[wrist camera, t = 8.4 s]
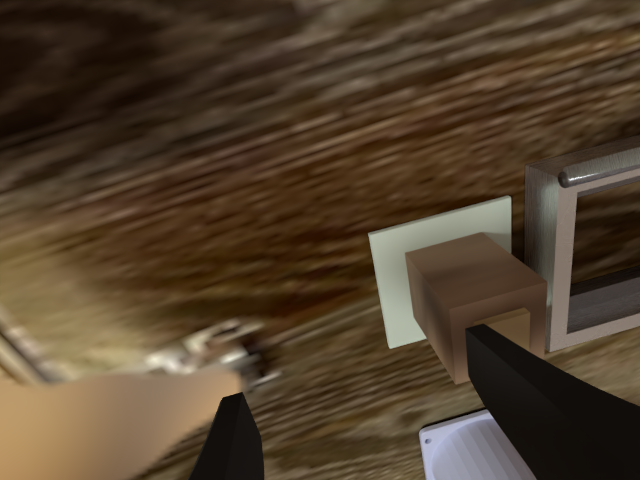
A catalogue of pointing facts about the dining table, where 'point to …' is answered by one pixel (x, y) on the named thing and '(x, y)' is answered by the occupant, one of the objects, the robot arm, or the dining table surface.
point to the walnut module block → (474, 297)
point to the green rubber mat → (420, 234)
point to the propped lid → (599, 168)
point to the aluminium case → (557, 250)
